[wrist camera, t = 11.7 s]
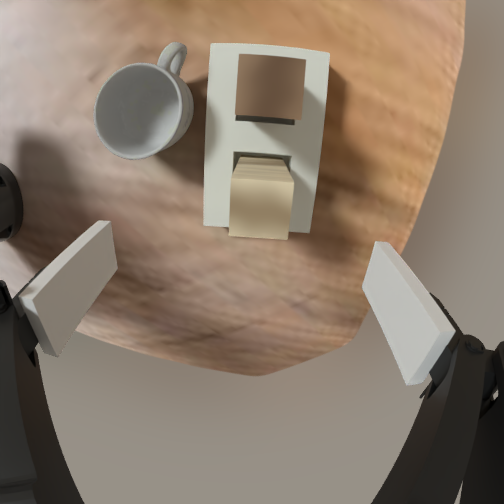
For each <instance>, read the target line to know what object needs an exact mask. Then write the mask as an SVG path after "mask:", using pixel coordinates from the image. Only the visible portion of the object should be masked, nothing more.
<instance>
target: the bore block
mask: <svg viewBox="0 0 504 504" xmlns="http://www.w3.org/2000/svg"><path fill="white" fill-rule="evenodd" d="M239 54H257V55H271V56H282V57H291V58H299V59H306V69H305V82H304V95H303V106H302V118H301V120H295V119H285V118H275V117H263V116H248V115H235V103H236V88H237V74H238V60H239ZM329 58H330V53H327V52H321V51H315V50H308V49H301V48H293V47H285V46H274V45H261V44H240V43H211V49H210V61H209V75H208V90H207V108H206V129H205V159H204V226H219V227H229V212H230V186H231V177H232V174H233V172H234V170H235V168H236V165H237V163H238V161H239V159H240V156H241V155H252V156H266V157H278V158H282V159H283V161H284V163H285V165H286V167H287V169H288V171H289V173H290V175H291V177H292V179H293V181H294V191H293V199H292V208H291V216H290V224H289V232H302V233H310V227H311V221H312V214H313V207H314V200H315V193H316V186H317V179H318V171H319V163H320V155H321V147H322V138H323V129H324V119H325V109H326V98H327V86H328V73H329Z"/></svg>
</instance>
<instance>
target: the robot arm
mask: <svg viewBox="0 0 504 504" xmlns="http://www.w3.org/2000/svg"><path fill="white" fill-rule="evenodd" d="M22 217H23V206H22V198H21V194H20V190H19V187H18V184H17V182H16V180H15V178H14V176H13V174H12V173H11V172H10V170H9V169H8V168H7V167H6V166H4V165H3V164H0V242H1V241H5V240H8V239H9V238H11V237H12V236H13V235H15V234H16V233H17V232H18V230H19V228H20V226H21V223H22ZM117 269H118V266H117V260H116V254H115V248H114V241H113V234H112V226H111V221H100V220H98V221H97V222H96V223H95V224H94V225H92V226H91V227H90V228H89V229H88V230H86V231H85V232H84V233H83V234H82V235H81V236H80V237H78V238H77V239H76V240H75V241H74V242H73V243H72V244H71V245H69V246H68V247H67V248H66V249H65V250H64V251H63V252H62V253H61V254H60V255H59V256H58V257H56V258H55V259H54V260H53V261H52V262H51V263H50V264H49V265H48V266H46V267H44V268H43V269H41V270H40V271H39V272H38V273H37V274H36V275H35V276H34V278H32V279H31V280H30V281H29V283H27V284H26V285H25V286H24V287H23V288H22V289H21V290H20V291H19V292H18V293H17V294H16V296H15V297H14V298H13V299H12V298H11V296H10V293H9V291H8V288H7V285H6V283H5V282H4V281H3V280H0V504H84V502H83V500H82V498H81V496H80V494H79V492H78V489H77V487H76V485H75V483H74V481H73V478H72V476H71V474H70V471H69V469H68V466H67V464H66V461H65V458H64V456H63V454H62V450H61V447H60V445H59V442H58V439H57V435H56V432H55V429H54V426H53V422H52V419H51V415H50V412H49V408H48V404H47V400H46V395H45V391H44V387H43V382H42V377H41V371H40V365H39V359H38V354H37V352H36V349H35V347H36V345H37V344H38V342H39V344H40V346H41V348H42V350H43V352H44V353H46V354H49V355H52V356H55V357H59V354H60V353H61V352H62V350H63V348H64V347H65V345H66V343H67V342H68V340H69V339H70V337H71V335H72V334H73V332H74V331H75V329H76V328H77V326H78V325H79V323H80V322H81V320H82V319H83V317H84V316H85V314H86V313H87V311H88V310H89V308H90V307H91V305H92V304H93V302H94V301H95V300H96V298H97V297H98V295H99V294H100V292H101V291H102V290H103V288H104V287H105V285H106V284H107V283H108V281H109V280H110V279H111V277H112V276H113V275H114V273H115V272H116V271H117ZM362 289H363V291H364V293H365V295H366V297H367V299H368V301H369V303H370V305H371V307H372V309H373V311H374V313H375V315H376V317H377V320H378V322H379V324H380V326H381V328H382V330H383V332H384V335H385V337H386V339H387V341H388V343H389V346H390V348H391V350H392V352H393V355H394V357H395V359H396V362H397V364H398V366H399V369H400V371H401V374H402V376H403V378H404V381H405V383H406V385H407V386H408V385H414V384H420V383H422V382H423V381H424V379H425V378H426V377H427V375H428V374H429V373H430V375H431V377H432V381H431V382H430V384H429V385H428V386H427V388H426V389H425V390H424V391H423V393H422V394H421V395H420V398H422V397H423V396H424V395H425V396H424V399H423V402H422V404H421V407H420V410H419V412H418V415H417V417H416V419H415V422H414V424H413V426H412V429H411V431H410V433H409V435H408V438H407V440H406V442H405V444H404V446H403V448H402V450H401V452H400V454H399V456H398V458H397V460H396V462H395V464H394V466H393V468H392V470H391V471H390V473H389V475H388V477H387V479H386V480H385V482H384V484H383V486H382V487H381V489H380V490H379V492H378V494H377V495H376V497H375V498H374V500H373V502H372V503H371V504H454V503H455V500H456V498H457V495H458V492H459V489H460V487H461V484H462V481H463V485H462V491H461V498H460V504H504V341H503V342H500V344H499V345H498V346H497V348H496V349H495V351H493V350H487V349H485V347H484V345H483V343H482V342H481V341H480V340H479V339H477V338H476V337H474V336H472V335H463V333H462V331H461V330H460V329H459V327H458V326H457V324H456V323H455V321H454V320H453V318H452V317H451V316H450V315H449V313H448V312H447V310H446V309H444V306H443V305H442V303H441V302H440V300H439V299H437V298H436V297H435V296H434V295H432V294H431V293H429V292H428V291H427V290H426V289H425V287H424V286H423V285H422V283H421V282H420V281H419V279H418V278H417V277H416V276H415V274H414V273H413V272H412V270H411V269H410V268H409V267H408V265H407V264H406V263H405V262H404V261H403V259H402V258H401V257H400V256H399V254H398V253H397V252H396V251H395V250H394V248H393V247H392V246H391V245H390V244H389V243H388V242H380V241H375V244H374V248H373V252H372V255H371V259H370V262H369V265H368V269H367V272H366V275H365V278H364V282H363V285H362ZM497 390H498V397H497V398H496V399H495V400H494V399H493V394H494V393H495V392H496V391H497Z"/></svg>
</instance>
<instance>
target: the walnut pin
mask: <svg viewBox="0 0 504 504" xmlns="http://www.w3.org/2000/svg"><path fill="white" fill-rule="evenodd" d="M305 69H306V59H299V58H291V57H282V56H271V55H257V54H239V60H238V74H237V88H236V103H235V115H248V116H263V117H275V118H285V119H295V120H301V118H302V106H303V95H304V82H305Z"/></svg>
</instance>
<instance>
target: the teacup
mask: <svg viewBox="0 0 504 504" xmlns="http://www.w3.org/2000/svg"><path fill="white" fill-rule="evenodd" d="M186 54H187V48H186V46H185V45H184V44H182V43H179V42H173V43H171V44H169V45H168V46H167V47H166V48H165V49H164V50H163V52H162V53H161V55H160V57H159V60H158V64H157V65H154V64H150V63H135V64H130V65H127V66H125V67H123V68H121V69H119V70H118V71H116V72H115V73H114V74H112V75H111V76H110V77H109V78H108V80H107V81H106V82H105V83H104V84H103V86H102V87H101V89H100V91H99V93H98V95H97V98H96V102H95V106H94V125H95V129H96V132H97V134H98V137H99V138H100V140H101V142H102V143H103V144H104V146H105V147H106V148H107V149H108V150H109V151H110V152H112V153H113V154H115V155H117V156H119V157H121V158H124V159H130V160H137V159H143V158H147V157H150V156H152V155H154V154H156V153H158V152H160V151H162V150H164V149H166V148H168V147H170V146H172V145H173V144H175V143H176V142H177V141H178V140H179V139H180V138H181V137H182V136H183V135H184V134H185V132H186V131H187V129H188V128H189V126H190V123H191V121H192V117H193V112H194V102H193V97H192V94H191V91H190V89H189V87H188V86H187V84H186V83H185V82H184V81H183V80H182V79H181V78H180V77H179V75H180V70H181V68H182V66H183V63H184V60H185V58H186Z"/></svg>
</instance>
